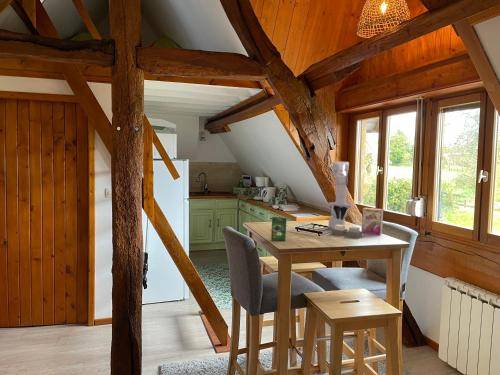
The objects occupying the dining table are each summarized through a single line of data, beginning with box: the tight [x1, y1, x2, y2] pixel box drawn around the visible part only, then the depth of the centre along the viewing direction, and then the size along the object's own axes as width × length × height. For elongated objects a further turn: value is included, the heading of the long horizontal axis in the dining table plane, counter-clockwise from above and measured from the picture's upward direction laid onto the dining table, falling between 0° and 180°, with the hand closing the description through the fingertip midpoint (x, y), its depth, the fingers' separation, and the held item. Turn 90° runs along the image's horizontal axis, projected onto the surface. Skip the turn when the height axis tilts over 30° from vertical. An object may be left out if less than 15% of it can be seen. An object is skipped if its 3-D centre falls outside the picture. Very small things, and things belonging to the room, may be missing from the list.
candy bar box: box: [361, 207, 384, 236], centre depth 233 cm, size 11×5×16 cm, turn 59°
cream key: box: [334, 225, 346, 231], centre depth 229 cm, size 4×4×3 cm
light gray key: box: [348, 226, 361, 233], centre depth 223 cm, size 4×4×3 cm
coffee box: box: [270, 216, 287, 242], centre depth 217 cm, size 8×3×13 cm, turn 88°
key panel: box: [329, 228, 365, 240], centre depth 226 cm, size 18×9×4 cm, turn 51°
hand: (340, 219), depth 228 cm, fingers closed
